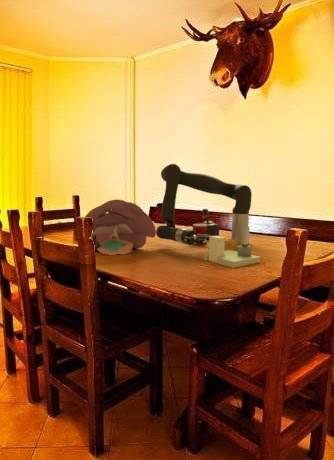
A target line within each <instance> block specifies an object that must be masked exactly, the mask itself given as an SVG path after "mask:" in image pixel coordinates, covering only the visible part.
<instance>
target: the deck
mask: <svg viewBox="0 0 334 460" xmlns="http://www.w3.org/2000/svg"><path fill="white" fill-rule="evenodd" d="M247 245H248V244H245V243H243V244H242V245H240V246H238V252H236V251H232V250H227V251H224V256H223V257H218V258H217V263H216V264H219V265H222V266H226V267H229V268H232V269H234V268H238V267H243V266H248V265H253V264H258V263H261V262H260V261H261V256H259V255H258V256H257V255H253V254H252V246H250V245H248V246H247ZM203 260H204V261H209V253H204V254H203Z"/></svg>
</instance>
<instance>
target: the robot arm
mask: <svg viewBox="0 0 334 460" xmlns="http://www.w3.org/2000/svg"><path fill="white" fill-rule="evenodd" d="M160 177H161V179H162V180H163V182H165V189H164V190H165V191H164V195H163V196H164V197H163V199H162V203H161V210H160V211H161V212H160V220H161V221H163V222H165V224H166V225H159V226H158V227H157V228H156V229H155V230H156V236H157V238H159V239H161V240H167V241H168V240H169V241H173V242H177V243H180V244H184V245H188V246H194V245H195V244H196V243H197V244H203V242H206V241H207V242H208V243H209V240H210V236H211V235H205V234H204V235H201V234H197V232H196V231H195V230H193V229H189V228H181V227H176V222H175V211H176V210H175V209H176V200H177V191H178V188H179V185H181V186H185V187H188V188H191V189H193V190H197V191H200V192H204V193H208V194H211V195H220V196H224V197H226V198H229V199H232V200H234V201H235V204H234V207H233V208H232V214H231V215H232V216H231V217H232V218H231V239H235V240H236V241H238V242H240V243H245V244H247V245H249V244H250V226H249V223H250V222H249V219H250V217H249V216H250V210H251V206H252V189H251V188H250V187H249V185H245V184H233V183H228V182H225V181H223V180H221V179H219V178H217V177H214V176H211V175H208V174H204V173H197V172H196V173H195V172H186V171H183V170H181V167H180V166H179V165H177V164H176V163H170V164H167V165H166V166H165V167H163V169H161V172H160ZM203 240H205V241H203Z"/></svg>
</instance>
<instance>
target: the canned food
mask: <svg viewBox="0 0 334 460" xmlns="http://www.w3.org/2000/svg"><path fill="white" fill-rule="evenodd" d="M192 230H195V231H196V232H197V234H201V235H204V234H205V235H207V225H206V224H200V223H193V224H192ZM203 241H205V240H203ZM207 242H208V241H206V242H203V244H197V243H196V244H194V245H195V246H205V245H206V244H207Z"/></svg>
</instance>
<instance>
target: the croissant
mask: <svg viewBox="0 0 334 460" xmlns="http://www.w3.org/2000/svg"><path fill="white" fill-rule="evenodd" d="M242 244H243V243H240V242H238V241H236V240H235V239H232V238H227V240H226V241H225V247H224V251H227V250H232V251H236V252H238V246H240V245H242ZM247 246H249V244H247Z"/></svg>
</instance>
